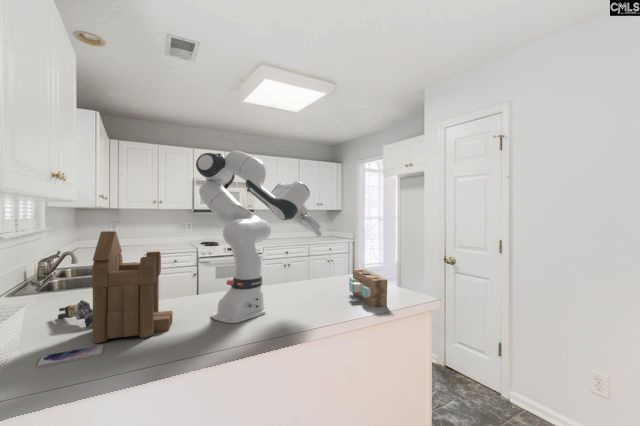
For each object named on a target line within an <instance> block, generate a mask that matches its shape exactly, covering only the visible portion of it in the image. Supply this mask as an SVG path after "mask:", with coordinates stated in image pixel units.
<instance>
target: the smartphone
mask: <svg viewBox="0 0 640 426" xmlns="http://www.w3.org/2000/svg"><path fill="white" fill-rule="evenodd" d="M104 349H105V345H104V344H99V345H93V346H88V347H84V348H77V349H72V350H67V351H63V352H62V351H61V352H57V353H51V354H46V355H42V356H40V357H39V359H38V361H37V362H36V363H35V366H34V368H35V369H40V368H45V367H50V366H53V365H60V364H64V363H70V362H73V361H79V360H83V359H88V358H89V357H90V358H93V356H94V357H98V356H97V355H99V356H102V355H103V354H104Z"/></svg>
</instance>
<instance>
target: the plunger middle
mask: <svg viewBox="0 0 640 426" xmlns="http://www.w3.org/2000/svg"><path fill="white" fill-rule="evenodd" d="M362 286H364V283H363V282H354V283H352V282H349V281H348V287H349V289H348V290H349V292H350V293H352V294H355V293H354V292H362Z"/></svg>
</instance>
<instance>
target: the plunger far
mask: <svg viewBox="0 0 640 426" xmlns="http://www.w3.org/2000/svg"><path fill="white" fill-rule="evenodd" d="M348 279H349V281H348V283H349V282H352V283H354V282H358V279H356V278H353V277H349V278H348Z"/></svg>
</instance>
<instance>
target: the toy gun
mask: <svg viewBox="0 0 640 426" xmlns="http://www.w3.org/2000/svg"><path fill="white" fill-rule="evenodd" d="M58 312H63V313H59V314H58V315H57V318H58V319H59V320H61V319H62V320H63V319H67V318H68V319H70V318H71V319H72V318H74V317H76V318H75V319H76V320H77V321H78V320H79V321H80V320H84V324H85V327H86V329H87V328H88V329H89V328H93V308H91V306H90V302H88V301H86V300H85V301H84V299H82V300H80V301H78V302H77V304H73V305H66V306H65V307H61V308H59V309H58Z"/></svg>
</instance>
